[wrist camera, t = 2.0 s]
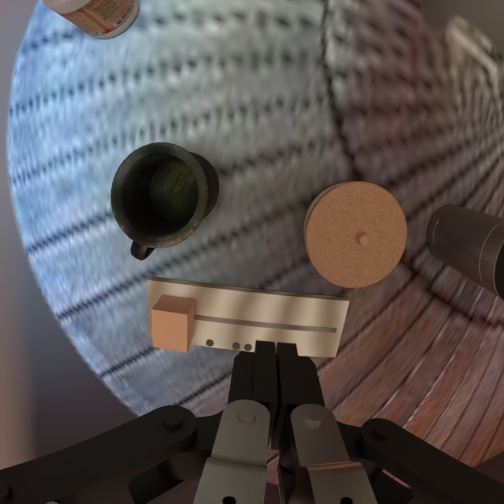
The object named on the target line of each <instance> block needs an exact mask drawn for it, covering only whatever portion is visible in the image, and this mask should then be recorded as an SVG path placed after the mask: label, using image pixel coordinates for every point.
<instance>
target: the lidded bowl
mask: <svg viewBox="0 0 504 504" xmlns="http://www.w3.org/2000/svg"><path fill="white" fill-rule="evenodd" d="M303 234H304V242H305V246H306V250H307V254H308V256H309V259H310V261H311V263H312V264H313V266H314V268H315V269H316V270H317V271H318V273H319V274H320V275H321V276H323V277H324V278H325V279H326V280H328V281H329V282H331V283H333V284H335V285H338V286H341V287H346V288H361V287H366V286H369V285H372V284H374V283H377V282H378V281H380V280H382V279H383V278H385V277H386V276H387V275H388V274H389V273H390V272H391V271H392V270H393V269H394V268H395V267H396V265H397V264H398V262H399V260H400V259H401V256H402V254H403V252H404V249H405V245H406V240H407V224H406V219H405V216H404V212H403V210H402V208H401V206H400V204H399V203H398V201H397V200H396V199H395V198H394V197H393V196H392V194H391V193H389V192H388V191H387V190H385V189H384V188H382V187H380V186H378V185H376V184H373V183H369V182H363V181H351V182H343V183H339V184H336V185H333V186H331V187H329V188H327V189H326V190H324V191H323V192H321V193H320V194H319V195H318V196H317V197H316V198H315V199H314V201H313V202H312V203H311V205H310V207H309V208H308V211H307V213H306V216H305V220H304V228H303Z"/></svg>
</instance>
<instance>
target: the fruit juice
mask: <svg viewBox="0 0 504 504" xmlns="http://www.w3.org/2000/svg"><path fill="white" fill-rule="evenodd" d="M42 1H43V3H44V4H45V5H46V6H47V7H49V8H50V9H51V10H53V11H54V12H56V13H58V14H59V15H61V16H63V17H64V18H66V19H67V20H69V21H70V22H72V23H73V24H75V25H76V26H78V27H79V28H81V29H82V30H84V31H85V32H87V33H88V34H90V35H91V36H93V37H96V38H100V39H107V38H111V37H114V36H117V35H119V34H120V33H122V32H123V31H125V30H126V29H127V28H128V27H129V26H130V25H131V24H132V23H133V21H134V20H135V18H136V16H137V13H138V1H137V0H42Z"/></svg>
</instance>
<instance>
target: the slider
mask: <svg viewBox="0 0 504 504" xmlns="http://www.w3.org/2000/svg"><path fill="white" fill-rule="evenodd" d="M194 311H195V299H187V298H179V297H172V296H165V295H162V296H161V297H160V299H159V300H158V301H157V303H156V304H155V305H154V307H153V308H152V309H151V312H152V336H153V347H158V348H163V349H169V350H175V351H182V352H187V351H188V349H189V346H190V343H191V341H192V338H193V336H194Z"/></svg>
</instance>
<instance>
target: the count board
mask: <svg viewBox="0 0 504 504" xmlns="http://www.w3.org/2000/svg"><path fill="white" fill-rule="evenodd" d="M162 295H165V296H172V297H179V298H187V299H195V311H194V336H193V338H192V341H191V343H190V344H193V345H200V346H207V347H215V348H223V349H231V350H240V351H250V352H254V350H255V342H256V340H261V341H272V342H275V349H276V344H277V342H284V343H296V345H297V351H298V356H316V357H336V353H337V349H338V346H339V342H340V338H341V334H342V330H343V326H344V322H345V318H346V313H347V309H348V305H349V300H348V298H347V297H338V296H326V295H314V294H303V293H292V292H282V291H271V290H262V289H252V288H243V287H233V286H224V285H216V284H207V283H199V282H190V281H182V280H174V279H167V278H159V277H151V276H150V277H149V278H148V279H147V305H148V329H149V338H153V336H152V312H151V309H152V308H153V307H154V305H155V304H156V303H157V301H158V300H159V299H160V297H161V296H162Z"/></svg>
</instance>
